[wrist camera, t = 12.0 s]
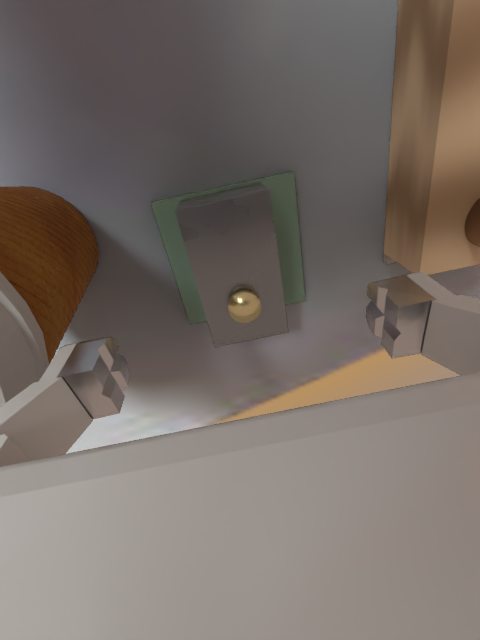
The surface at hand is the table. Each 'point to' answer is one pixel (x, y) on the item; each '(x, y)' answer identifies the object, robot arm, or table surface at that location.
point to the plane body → (435, 138)
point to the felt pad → (285, 237)
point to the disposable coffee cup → (38, 280)
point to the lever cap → (235, 262)
